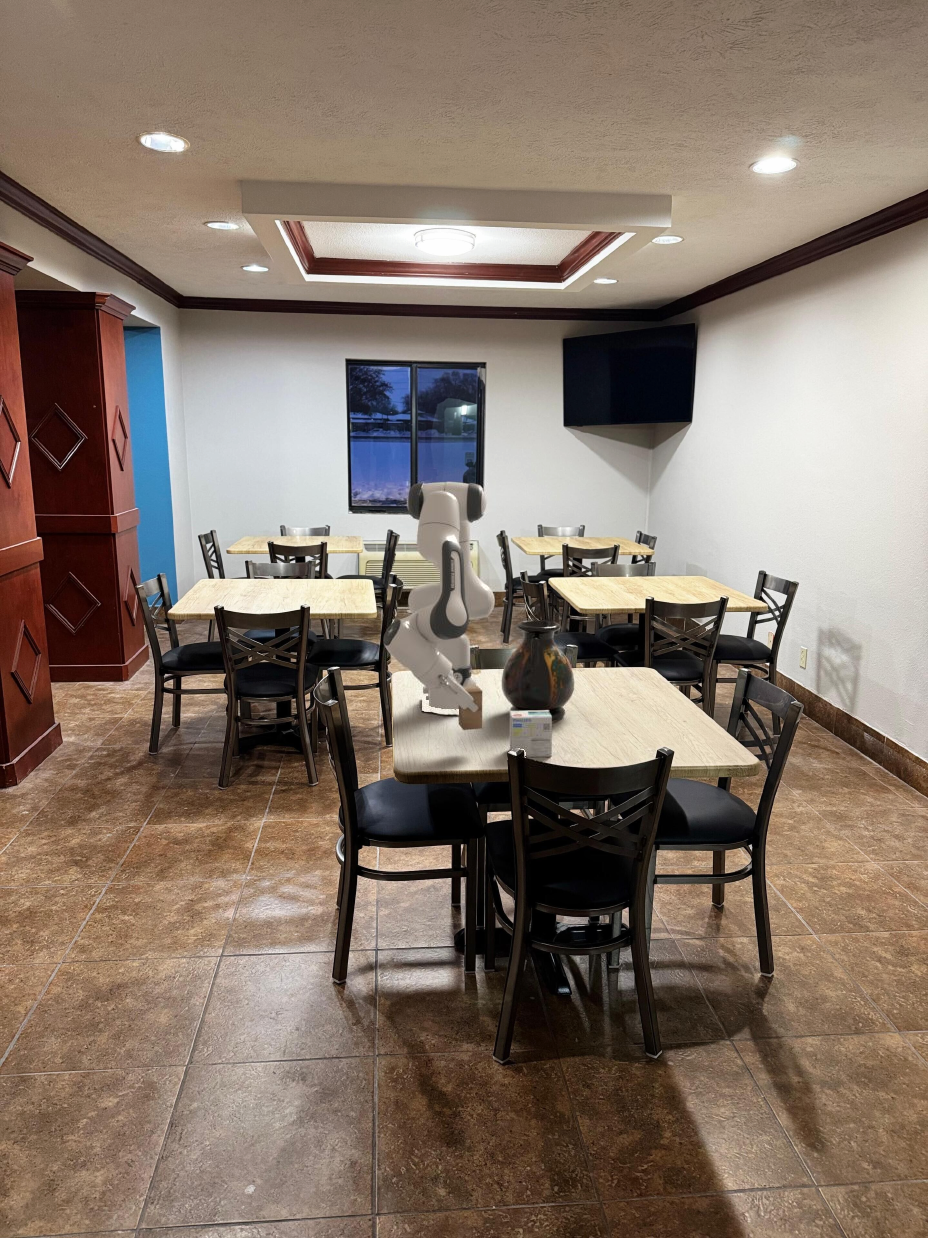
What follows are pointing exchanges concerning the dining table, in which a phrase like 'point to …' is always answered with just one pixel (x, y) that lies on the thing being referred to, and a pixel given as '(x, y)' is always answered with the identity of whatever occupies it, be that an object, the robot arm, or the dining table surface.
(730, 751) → the dining table surface
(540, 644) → the dark painted vase
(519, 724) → the light bulb box
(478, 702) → the walnut block
